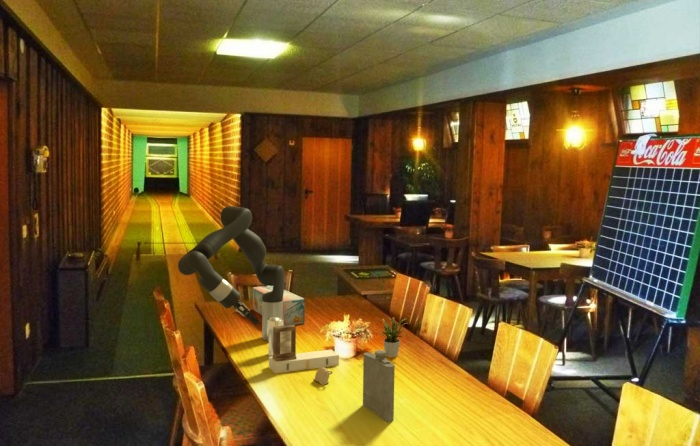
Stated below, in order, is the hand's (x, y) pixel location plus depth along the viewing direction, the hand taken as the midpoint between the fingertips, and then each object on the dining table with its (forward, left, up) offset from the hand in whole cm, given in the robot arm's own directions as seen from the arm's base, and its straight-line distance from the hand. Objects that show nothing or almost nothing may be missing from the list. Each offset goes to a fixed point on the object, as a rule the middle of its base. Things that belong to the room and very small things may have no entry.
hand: (255, 320), depth 238 cm
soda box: (-81, -31, -20) cm, 89 cm away
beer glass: (-23, -3, -20) cm, 30 cm away
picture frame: (-8, +8, -16) cm, 20 cm away
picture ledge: (-14, +14, -20) cm, 28 cm away
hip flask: (+19, +55, -20) cm, 62 cm away
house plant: (-41, +43, -20) cm, 62 cm away
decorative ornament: (+1, +28, -20) cm, 34 cm away
